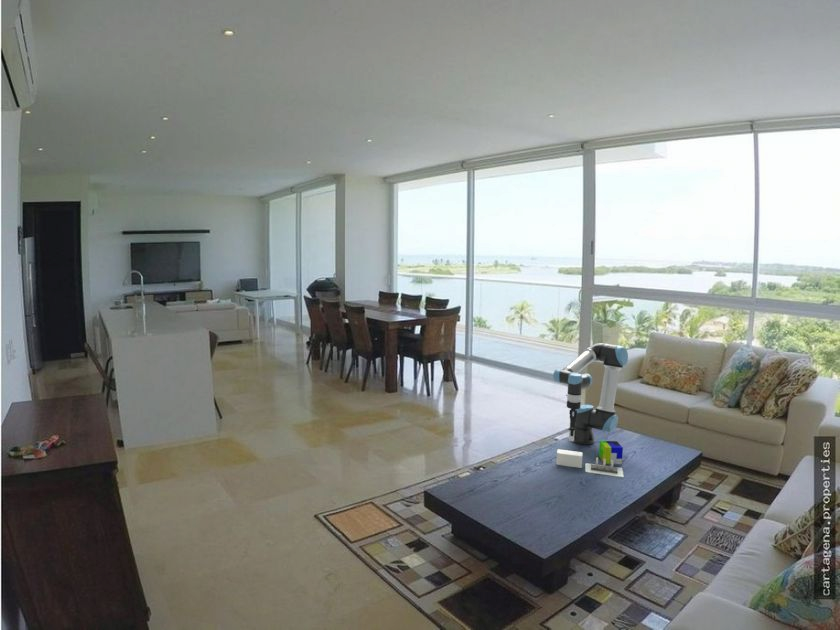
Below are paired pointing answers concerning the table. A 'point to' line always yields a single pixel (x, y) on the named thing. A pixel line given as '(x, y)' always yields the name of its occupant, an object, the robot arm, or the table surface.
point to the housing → (569, 458)
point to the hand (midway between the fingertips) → (571, 436)
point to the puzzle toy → (611, 452)
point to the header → (604, 469)
